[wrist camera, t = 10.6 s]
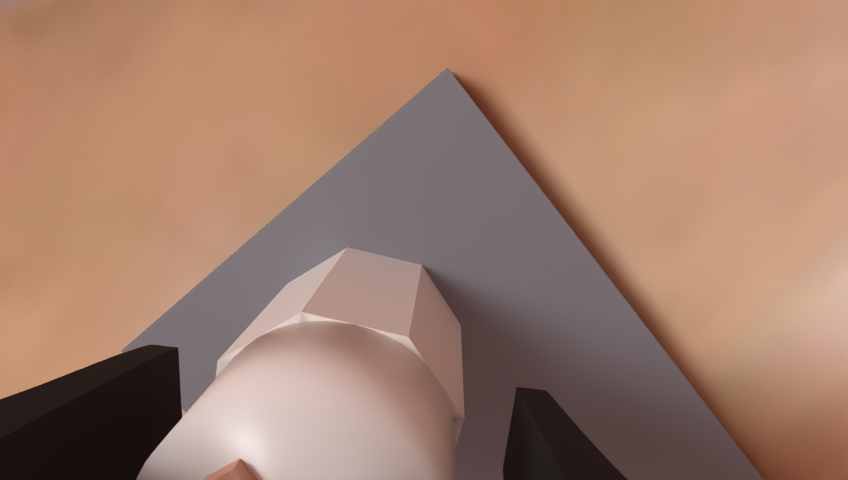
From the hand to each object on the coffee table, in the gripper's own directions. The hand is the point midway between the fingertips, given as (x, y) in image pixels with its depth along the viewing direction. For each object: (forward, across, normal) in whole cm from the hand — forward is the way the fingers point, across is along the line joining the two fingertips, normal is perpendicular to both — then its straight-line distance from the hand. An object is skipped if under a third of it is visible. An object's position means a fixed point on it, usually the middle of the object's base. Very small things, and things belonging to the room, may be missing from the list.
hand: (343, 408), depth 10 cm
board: (+4, -3, +3) cm, 6 cm away
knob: (+3, 0, 0) cm, 3 cm away
